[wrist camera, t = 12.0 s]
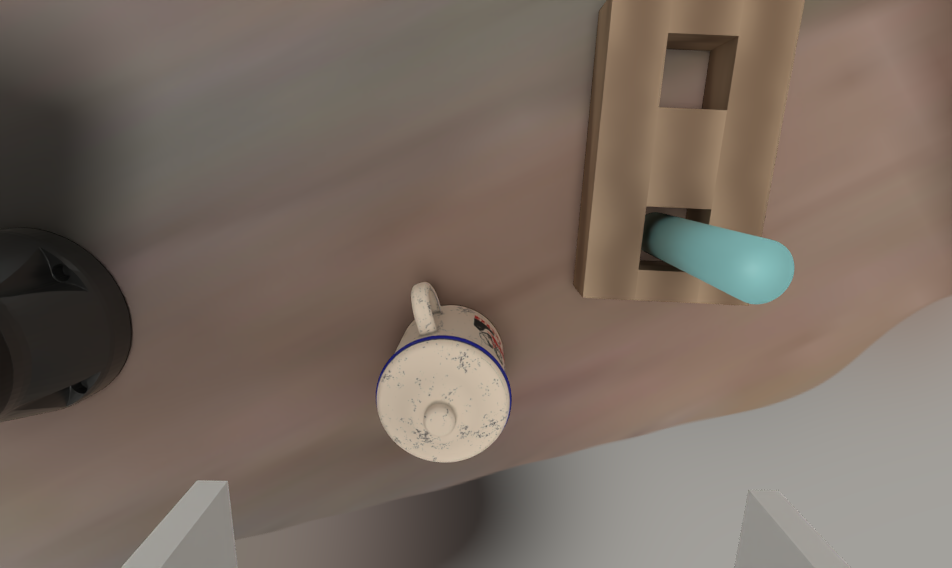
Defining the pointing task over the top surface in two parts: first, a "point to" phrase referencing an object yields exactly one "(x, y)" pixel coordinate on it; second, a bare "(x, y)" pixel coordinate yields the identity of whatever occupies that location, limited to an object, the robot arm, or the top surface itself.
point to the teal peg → (720, 257)
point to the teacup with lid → (444, 382)
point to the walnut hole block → (679, 136)
